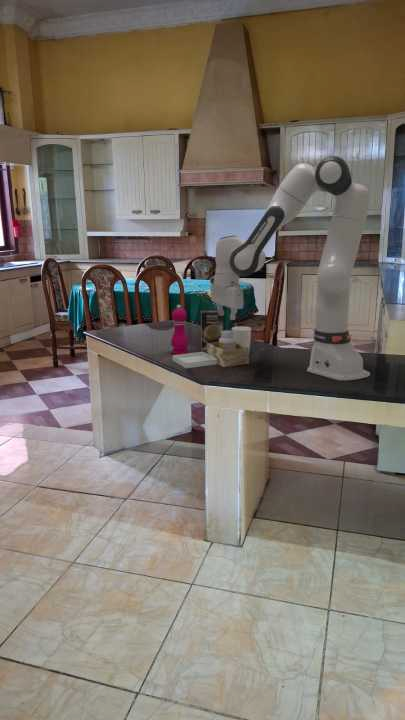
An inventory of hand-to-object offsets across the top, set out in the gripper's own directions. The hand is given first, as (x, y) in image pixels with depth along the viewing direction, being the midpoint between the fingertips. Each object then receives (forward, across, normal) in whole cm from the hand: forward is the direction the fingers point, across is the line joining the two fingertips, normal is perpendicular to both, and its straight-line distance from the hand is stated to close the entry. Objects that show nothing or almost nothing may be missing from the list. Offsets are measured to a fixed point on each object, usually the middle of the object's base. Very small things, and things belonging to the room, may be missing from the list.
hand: (226, 317), depth 202 cm
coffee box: (+17, +21, -4) cm, 27 cm away
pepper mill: (+18, +20, +11) cm, 29 cm away
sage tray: (+17, +4, +12) cm, 21 cm away
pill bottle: (+17, 0, 0) cm, 17 cm away
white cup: (+17, +10, -12) cm, 23 cm away
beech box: (+17, 0, 0) cm, 17 cm away
